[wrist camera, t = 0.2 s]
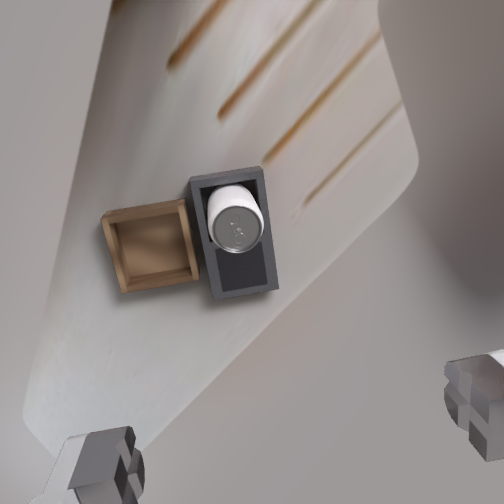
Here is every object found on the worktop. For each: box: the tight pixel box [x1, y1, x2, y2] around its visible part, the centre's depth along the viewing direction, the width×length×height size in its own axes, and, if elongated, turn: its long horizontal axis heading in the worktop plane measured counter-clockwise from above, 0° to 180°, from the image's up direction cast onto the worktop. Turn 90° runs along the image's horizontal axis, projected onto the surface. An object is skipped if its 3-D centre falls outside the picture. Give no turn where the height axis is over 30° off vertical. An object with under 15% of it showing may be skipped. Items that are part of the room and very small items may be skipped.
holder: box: [101, 198, 200, 294], centre depth 55 cm, size 11×11×4 cm
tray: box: [190, 166, 279, 301], centre depth 56 cm, size 17×9×4 cm, turn 8°
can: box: [208, 183, 264, 253], centre depth 51 cm, size 6×6×12 cm
